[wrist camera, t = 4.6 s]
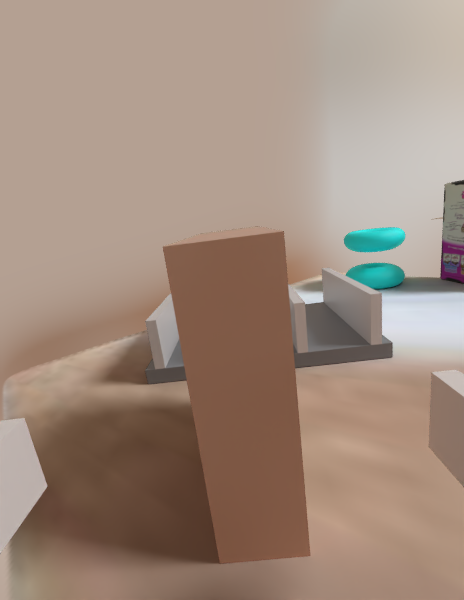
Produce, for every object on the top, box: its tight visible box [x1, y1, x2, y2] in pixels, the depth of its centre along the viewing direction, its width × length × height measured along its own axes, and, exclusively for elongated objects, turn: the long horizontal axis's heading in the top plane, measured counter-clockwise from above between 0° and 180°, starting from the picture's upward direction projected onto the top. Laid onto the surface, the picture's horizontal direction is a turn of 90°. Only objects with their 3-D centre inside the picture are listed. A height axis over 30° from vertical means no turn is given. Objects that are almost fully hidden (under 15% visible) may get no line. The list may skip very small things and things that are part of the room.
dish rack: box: [145, 268, 392, 384], centre depth 37 cm, size 24×16×6 cm, turn 89°
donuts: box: [344, 227, 405, 289], centre depth 56 cm, size 10×10×10 cm
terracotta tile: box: [163, 226, 310, 564], centre depth 17 cm, size 4×12×14 cm, turn 179°
